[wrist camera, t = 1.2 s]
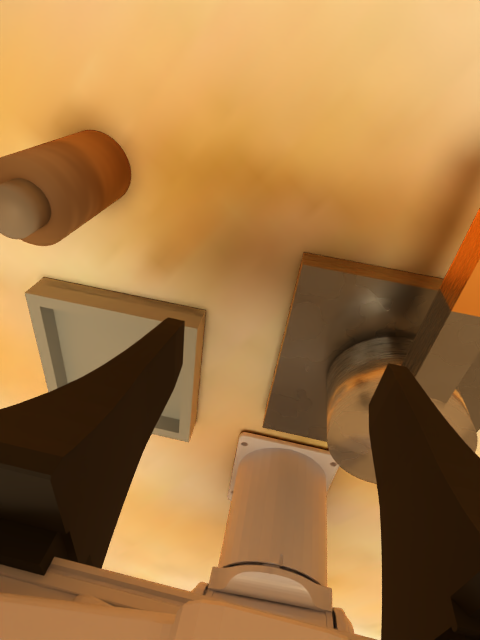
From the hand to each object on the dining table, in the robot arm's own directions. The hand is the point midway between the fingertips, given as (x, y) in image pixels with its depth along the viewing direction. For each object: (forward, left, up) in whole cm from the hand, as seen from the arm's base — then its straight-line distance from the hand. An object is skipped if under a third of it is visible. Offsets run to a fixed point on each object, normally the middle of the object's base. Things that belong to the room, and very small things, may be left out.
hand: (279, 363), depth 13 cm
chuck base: (-7, -7, -9) cm, 13 cm away
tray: (-11, +10, -9) cm, 17 cm away
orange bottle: (+2, +11, -9) cm, 15 cm away
